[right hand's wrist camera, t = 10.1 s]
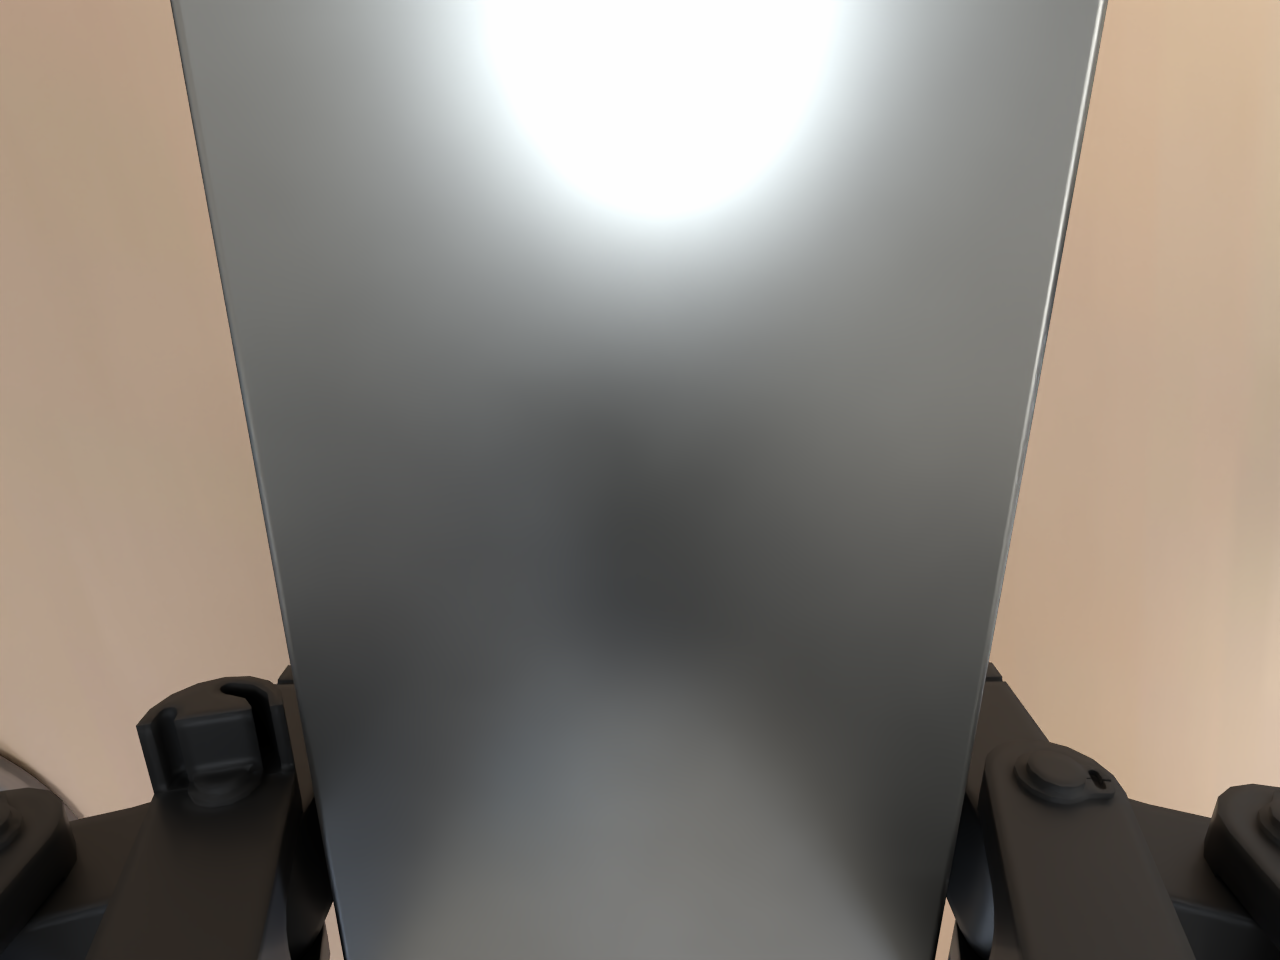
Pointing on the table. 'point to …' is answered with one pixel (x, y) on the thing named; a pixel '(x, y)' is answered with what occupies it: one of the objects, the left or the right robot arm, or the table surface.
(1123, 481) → the table surface
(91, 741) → the table surface
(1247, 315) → the table surface
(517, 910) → the bar
